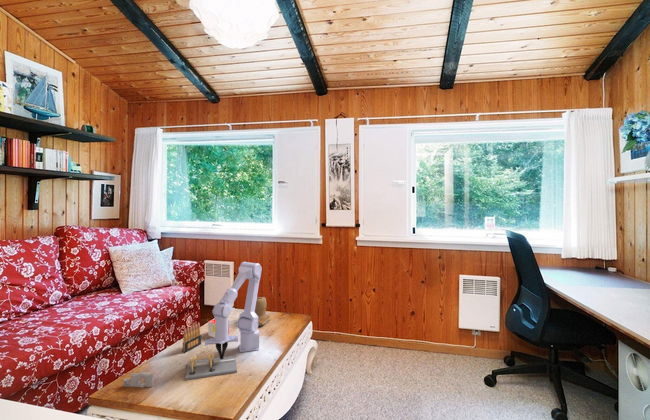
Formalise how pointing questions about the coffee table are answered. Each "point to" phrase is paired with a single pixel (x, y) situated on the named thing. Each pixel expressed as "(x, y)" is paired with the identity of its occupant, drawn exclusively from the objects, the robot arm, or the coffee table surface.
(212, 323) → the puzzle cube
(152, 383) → the garden wall model
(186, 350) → the ammunition clip
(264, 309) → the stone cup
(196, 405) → the coffee table surface
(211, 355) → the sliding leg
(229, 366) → the pitch plate
